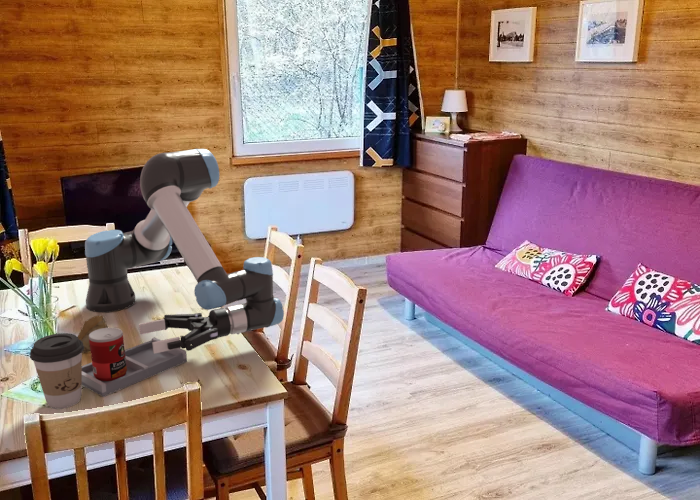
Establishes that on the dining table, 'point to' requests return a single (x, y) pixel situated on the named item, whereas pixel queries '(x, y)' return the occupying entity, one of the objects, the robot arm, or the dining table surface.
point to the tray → (135, 367)
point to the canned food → (108, 354)
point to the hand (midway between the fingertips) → (145, 338)
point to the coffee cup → (59, 368)
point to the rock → (91, 330)
